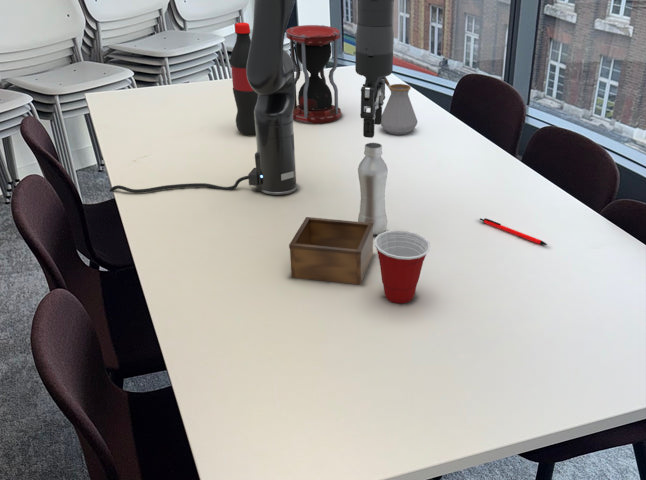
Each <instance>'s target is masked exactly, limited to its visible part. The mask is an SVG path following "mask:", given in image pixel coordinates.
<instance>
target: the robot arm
mask: <svg viewBox="0 0 646 480" xmlns="http://www.w3.org/2000/svg"><path fill="white" fill-rule="evenodd" d="M394 2H395V0H357V1H356V22H357V23H356V30H355V58H354V59H355V65H354V66H355V67H354V68H355V73H356V74H357V75H359V76H363V77H364V78H365V80H364V83H362V86H361V87H360V94H361V95H360V118H361V119H363V120H362V121H363V128H362V129H363V130H362V133H363V134H362V135H363V137H364V138H368V139H369V138H370V139H373V138H374V137H375V126H376V125H377V126H381V122H382V114H383V106H384V104H385V100H386V84H385V77H386V78H387V77H389V76H390V75H392V73H393V70H394V69H393V68H394V67H393V66H394V43H395V41H394V39H395V37H394V36H395V35H394V34H395V33H394V7H395V6H394ZM253 3H254V4H253V21H252V23H253V24H252V32H251V37H250V39H251V44H250V49H249V55H248V60H247V67H246V74H247V79H248V82H249V84H250V86H251V88H252V89H253V90H254V91H255V92H256V93H258V99H257V103H256V106H255V109H254V118H255V130H256V135H255V141H256V152H255V153H254V163H255V167H253V168H252V170H251V171H249V173H248V174H247V175H245V176H244V175H243V176H241V177H239V178H238V179H237V180H235V183H234V184H233V185H230V186H221V185H216V184H211V183H205V182H204V183H203V182H200V183H198V182H197V183H194V182H193V183H178V184H168V185H161V186H160V185H159V186H155V187H149V188H140V189H139V188H138V189H137V188H135V189H134V188H130V187H127V186H123V185H114V186H112V187H111V188H110V189H109V193H113V192H114V191H116V190H122V191H125V192H129V193H132V194H142V193H151V192H156V191H162V190H169V189H170V190H171V189H180V188H181V189H182V188H201V187H202V188H210V189H215V190H222V191H232V190H235V189H236V188H238V187H239V184H240V183H241V182H243V181H246V180H248V186H256V188H257V192H261V193H264V194H266V195H270V196H284V195H289V194H292V193H294V192H295V191H296V190H297V189H298V185H297V174H296V173H297V172H296V170H297V169H296V152H295V130H294V119H293V110H294V105H295V78H296V77H295V67H294V65H293V63H292V60H291V55H290V54H289V53H288V52H287V50H285V49H284V44H285V43H284V42H285V35H286V30H287V28H288V27H287V26H288V24H289V20H290V18H291V15H292V12H293V9H294V6H295V3H296V0H254V1H253ZM367 109H370V111H367Z"/></svg>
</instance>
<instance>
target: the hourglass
mask: <svg viewBox="0 0 646 480" xmlns="http://www.w3.org/2000/svg"><path fill="white" fill-rule="evenodd" d="M285 35H286V38H287V39H288V40H289V44H290V46H289V47H290V58H291V60H292V63H293V67H294V70H295V77H294V78H295V105H294V110H293V121H296V122H300V123H304V124H312V125H313V124H314V125H315V124H316V125H317V124H327V123H328V124H329V123H332V122H335V121H337V120H339V119H340V118H341V117H342V110H341V108H340V107H339V89H338V86H337V84H336V83H335V81H334V73H335V71H336V69H337V67H338V40H339V39H340V38H341V31H340V29H338V28H336V27H333V26H328V25H323V24H322V25H319V24H305V25H297V26H291V27H289V28H286V31H285ZM331 43H333V65H332V68H331V69H330V70H329V72H328V80H329V83H330V85H331V86H332V88H333V92H334V93H333V95H332V91H331V89H330V87H329V86H328V85H327V79H326V76H325V67H326V66H327V64H328V63H329V61H330V59H331V57H332V44H331ZM295 53H296V57H297V60H298V61H299V63H300V64H301V68H302V73H303V74H304V75H303V76H304V82H303V83H302V85H301V86H300V88H299V90H298V94H297V82H298V81H299V79H300V77H301V74H302V73H301V69H300V66H299V65H298V63H297V61H296V58H295ZM297 96H298V97H297ZM333 97H334V99H333ZM297 100H298V101H297ZM333 101H334V104H333ZM297 102H298V103H297Z"/></svg>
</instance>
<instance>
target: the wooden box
mask: <svg viewBox="0 0 646 480" xmlns="http://www.w3.org/2000/svg"><path fill="white" fill-rule="evenodd" d="M373 227H374V223H366V222H358V221H355V220H343V219H333V218H323V217H312V216H305V218H304V220H303V221H302V223H301V225H300V226H299V228H298V230H297V231H296V233H295V234H294V236H293V238H292V239H291V241H290V243H289V244H288V249H289V257H290V258H289V259H290V273H291V278H292V279H293V278H294V279H295V278H296V279H303V280H313V281H324V282H332V283H343V284H353V285H361V284H362V282H363V280H364V277H365V275H366V272H367V270H368V268H369V265H370V263H371V261H372V258H373V255H374V235H373Z"/></svg>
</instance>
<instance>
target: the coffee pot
mask: <svg viewBox="0 0 646 480" xmlns="http://www.w3.org/2000/svg"><path fill="white" fill-rule="evenodd" d="M385 86H387V88H388V89H389V92H390V95H389V97H388V100H387V102H386V105H385V106H384V109H383V110H382V122H381V124H380V126H381V128H383V129H384V130H385V132H386V133H388V134H391V135H396V136H397V135H398V136H400V135H401V136H402V135H408V134H410V133H411V132H412V131H414V130H415V128H416V126H417V124H418V119H417V116H416V113H415V110H414V107H413V105H412V102H411V99H410V95H409V92H410V90H411V89H412V87H411V85H408V84H403V83H394V84H390V82H389V80H388V79H387V76H386V77H385Z"/></svg>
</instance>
